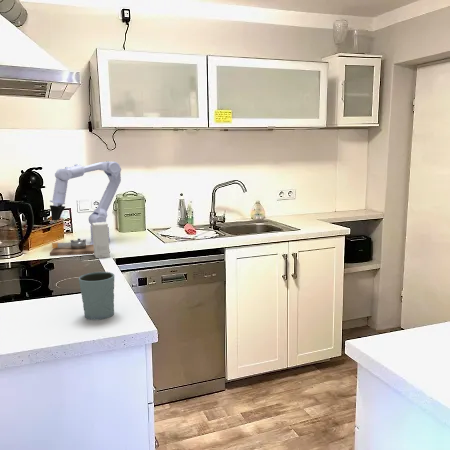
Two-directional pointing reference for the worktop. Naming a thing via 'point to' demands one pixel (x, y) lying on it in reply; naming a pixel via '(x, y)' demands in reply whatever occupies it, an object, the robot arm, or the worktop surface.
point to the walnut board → (72, 251)
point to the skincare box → (100, 240)
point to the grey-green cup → (97, 294)
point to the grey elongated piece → (71, 244)
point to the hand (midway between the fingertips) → (55, 220)
